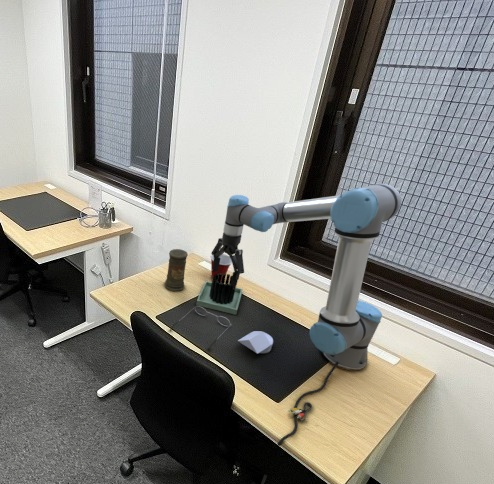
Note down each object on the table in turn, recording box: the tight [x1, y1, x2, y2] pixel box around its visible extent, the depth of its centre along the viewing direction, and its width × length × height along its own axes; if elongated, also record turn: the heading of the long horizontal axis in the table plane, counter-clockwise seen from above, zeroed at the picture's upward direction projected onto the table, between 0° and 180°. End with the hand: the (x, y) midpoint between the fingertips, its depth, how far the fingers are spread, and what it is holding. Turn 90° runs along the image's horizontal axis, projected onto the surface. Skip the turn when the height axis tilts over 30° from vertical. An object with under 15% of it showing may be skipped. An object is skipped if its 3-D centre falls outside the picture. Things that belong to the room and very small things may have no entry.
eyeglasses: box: [169, 305, 233, 351], centre depth 153 cm, size 18×19×4 cm
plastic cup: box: [210, 253, 233, 281], centre depth 186 cm, size 11×11×12 cm
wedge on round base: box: [237, 330, 274, 354], centre depth 144 cm, size 9×7×13 cm
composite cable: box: [288, 401, 313, 423], centre depth 118 cm, size 10×5×2 cm, turn 120°
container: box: [164, 248, 188, 292], centre depth 177 cm, size 9×9×18 cm
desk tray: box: [195, 280, 244, 315], centre depth 173 cm, size 19×18×3 cm
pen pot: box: [209, 273, 237, 304], centre depth 171 cm, size 10×11×11 cm
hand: (224, 277), depth 168 cm, fingers open, 13 cm apart
